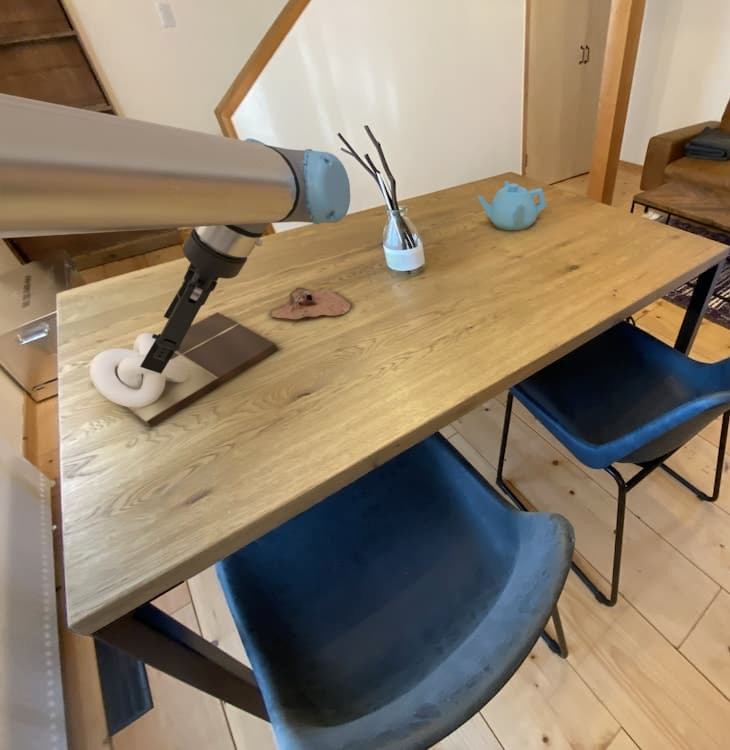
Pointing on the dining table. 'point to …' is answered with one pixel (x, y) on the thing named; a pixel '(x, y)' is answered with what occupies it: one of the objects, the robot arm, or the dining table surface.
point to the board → (206, 363)
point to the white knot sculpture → (133, 374)
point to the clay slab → (312, 304)
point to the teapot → (514, 207)
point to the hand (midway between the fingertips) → (162, 342)
